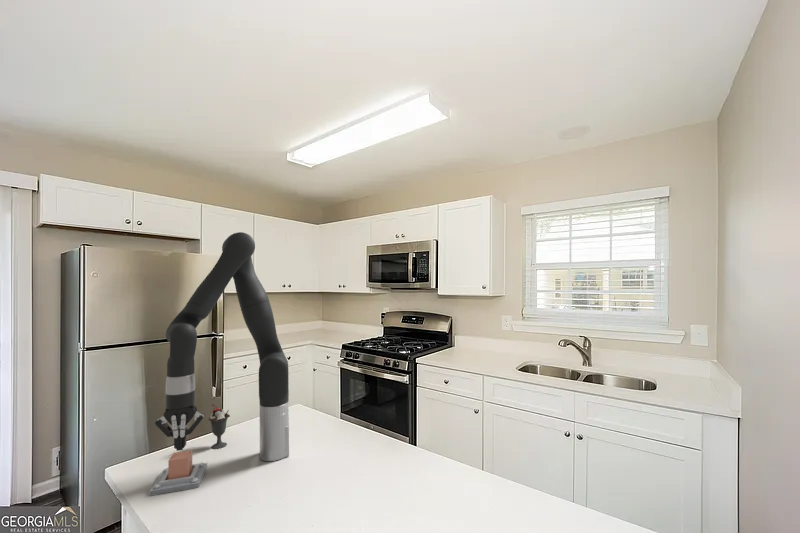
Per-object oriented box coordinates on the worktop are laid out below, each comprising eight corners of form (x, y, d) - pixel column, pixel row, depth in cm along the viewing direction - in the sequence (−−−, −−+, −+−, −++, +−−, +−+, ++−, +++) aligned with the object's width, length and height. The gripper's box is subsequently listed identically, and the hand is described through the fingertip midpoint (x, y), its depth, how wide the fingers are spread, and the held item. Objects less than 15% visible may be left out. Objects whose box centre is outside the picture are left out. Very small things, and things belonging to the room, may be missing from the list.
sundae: (203, 448, 127) (203, 405, 128) (219, 440, 133) (219, 399, 134) (217, 451, 125) (217, 407, 125) (233, 443, 131) (233, 401, 131)
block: (192, 470, 110) (192, 450, 110) (188, 478, 105) (188, 457, 106) (173, 473, 109) (173, 452, 109) (168, 482, 104) (168, 460, 104)
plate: (207, 466, 114) (207, 459, 115) (198, 487, 103) (198, 479, 103) (163, 473, 111) (163, 466, 111) (149, 495, 99) (149, 487, 99)
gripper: (208, 384, 114) (207, 440, 113) (159, 388, 110) (158, 447, 109) (202, 391, 106) (202, 451, 106) (150, 395, 102) (149, 458, 102)
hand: (180, 449), depth 107 cm, fingers closed
